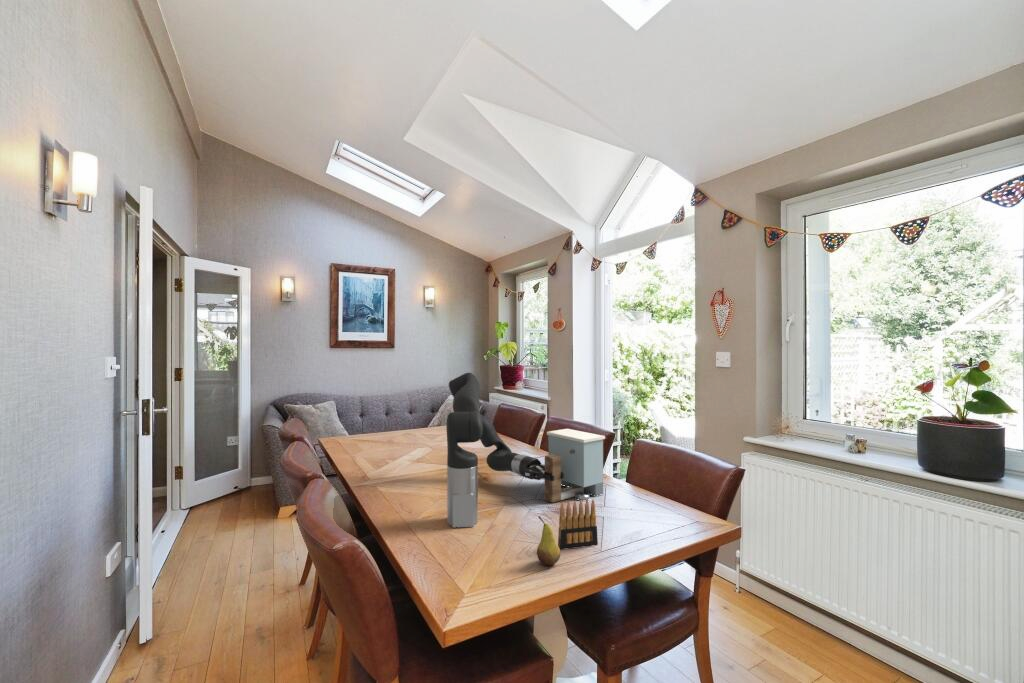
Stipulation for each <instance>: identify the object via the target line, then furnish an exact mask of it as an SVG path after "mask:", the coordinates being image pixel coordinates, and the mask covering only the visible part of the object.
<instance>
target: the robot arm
mask: <svg viewBox="0 0 1024 683" xmlns="http://www.w3.org/2000/svg"><path fill="white" fill-rule="evenodd" d="M448 388H449V391H450V393H451V395H452V397H453V400H452V410H453V411H451V412H449V413H448V415H447V416H446V441H447V442H446V444H447V457H446V458H447V461H446V462H447V465H446V466H447V468H446V471H447V472H446V475H447V477H446V487H447V488H446V493H447V494H446V496H447V497H446V503H447V504H446V510H447V512H446V513H447V514H446V516H447V517H446V518H447V520H446V521H447V525H449V526H451V528H453V529H455V528H456V527H457V528H471V527H474V525H476V524H478V522H479V521H478V520H479V518H478V516H479V513H478V512H479V506H478V505H479V503H478V502H479V501H478V498H479V496H478V492H479V489H478V487H479V485H478V484H479V483H478V482H479V478H478V477H479V476H478V473H479V472H478V471H479V465H478V464H479V459H478V458H479V456H478V455H477V454H475V452H472V451H468V450H466V449H463V448H462V447H461V446H460V445H459V443H460V444H463V443H465V444H466V443H476V442H479V441H480V442H481V445H482V446H484V448H490V447H493V446H494V447H496V449H494V450H492V451H491V452H490V453H489V454H487V456H486V458H485V459H486V460H485V461H486V464H487V467H489V469H491V470H492V471H495V472H511V473H515V474H517V475H518V476H521V477H524V479H525V478H527V479H530V480H536V481H541V480H543V481H545V479H547V480H550V481H554V474H550V473H547V472H545V463H542V462H541V461H540V460H539V459H538V458H536V457H532V456H529V455H526V454H521V453H517V452H512V450H511V449H510V447H509V446H508V445H507V444H506V443H505V442H504V441H503V439H502V438H501V437H500V436H499V434H498V432H497V430H496V428H495V426H494V425H493V423H492V422H491V420H490V419H489V418H487V416H484V414H481V412H480V409H481V408H480V405H481V404H480V397H479V396H480V390H481V389H480V384H479V380H478V378H477V377H476V375H474V373H472V372H465V373H463V374H461V375H459V376H457V377H455V378H453V379H452V380H450V381H449V383H448ZM561 479H564V472H561Z"/></svg>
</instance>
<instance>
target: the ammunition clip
mask: <svg viewBox="0 0 1024 683" xmlns="http://www.w3.org/2000/svg"><path fill="white" fill-rule="evenodd" d="M565 510H566V511H565ZM596 512H597V511H596V504H595V500H594V499H592V500H591V503H590V504H589V500H586V501H585V505H584V504H583V501H579V505H578V504H577V500H574V501H573V505H572V508H571V502H570V501H567V504H566V509H565V504H564V502H561V504H560V507H559V519H558V521H559V522H558V524H559V527H558V535H557V536H558V538H557V545H558V546H559V549H560V550H566V549H565V548H568V549H574V547H577V548H583V547H582V546H586V547H591V545H594V546H598V545H599V540H598V539H599V538H598V525H597V514H596Z"/></svg>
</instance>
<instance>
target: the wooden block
mask: <svg viewBox="0 0 1024 683" xmlns="http://www.w3.org/2000/svg"><path fill="white" fill-rule="evenodd" d="M544 465H545V472H547V473H550V474H554V481H550V480H547V479H545V480H544V494H543V496H544V500H545V501H547V502H550V503H551V504H552V503H556V502H560V501H563V500H566V499H570V498H575V493H577V492H584V487H581V486H578V485H574V486H571V487H564V488H562V485H561V456H558V455H554V454H552V455H549V454H547V455H544Z"/></svg>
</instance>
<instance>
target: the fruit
mask: <svg viewBox="0 0 1024 683" xmlns="http://www.w3.org/2000/svg"><path fill="white" fill-rule="evenodd" d="M537 518H538V519H539V520H541V522H542V523H543V527H542V531H541V532H542V533H541V539H540V542H539V544H538V546H537V549H536V556H537V559H538V561H539V563H540V564H543V565H545V566H553V565H555V564H557V562H558V561H559V560H560V558H561V549H560V548H559V546H558V542H557V541H556V537H555V534H554V530H553V528H552V527H551V525H549V524H548V523H546V522H545V521H544V520H543V519H542V518H541V516H540V515H539V516H538V517H537Z"/></svg>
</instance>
